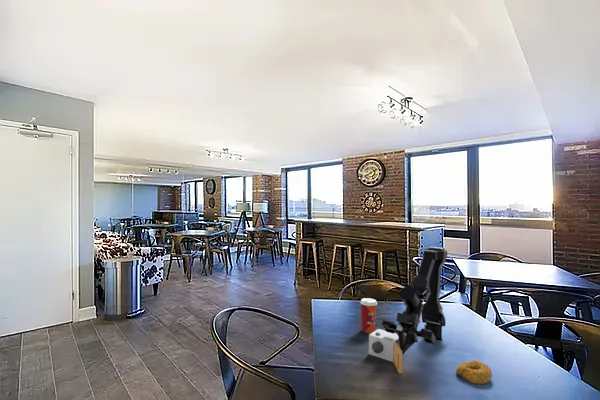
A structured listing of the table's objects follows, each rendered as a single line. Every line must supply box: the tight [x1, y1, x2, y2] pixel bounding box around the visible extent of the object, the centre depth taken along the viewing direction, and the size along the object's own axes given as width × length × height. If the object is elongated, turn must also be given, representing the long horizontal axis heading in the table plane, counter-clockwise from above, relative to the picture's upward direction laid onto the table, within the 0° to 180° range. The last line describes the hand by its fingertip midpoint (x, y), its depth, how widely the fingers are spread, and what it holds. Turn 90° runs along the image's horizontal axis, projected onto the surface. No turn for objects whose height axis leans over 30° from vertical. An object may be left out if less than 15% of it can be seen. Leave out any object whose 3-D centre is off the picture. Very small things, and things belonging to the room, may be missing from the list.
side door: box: [393, 341, 403, 374], centre depth 120 cm, size 8×1×8 cm, turn 178°
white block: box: [368, 328, 400, 363], centre depth 130 cm, size 9×10×8 cm
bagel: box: [455, 360, 493, 385], centre depth 115 cm, size 10×11×5 cm
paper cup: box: [359, 297, 378, 334], centre depth 154 cm, size 8×8×14 cm
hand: (401, 353), depth 119 cm, fingers closed
